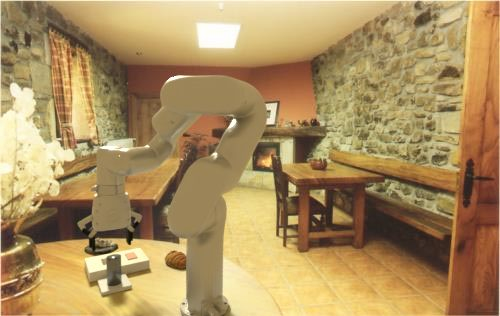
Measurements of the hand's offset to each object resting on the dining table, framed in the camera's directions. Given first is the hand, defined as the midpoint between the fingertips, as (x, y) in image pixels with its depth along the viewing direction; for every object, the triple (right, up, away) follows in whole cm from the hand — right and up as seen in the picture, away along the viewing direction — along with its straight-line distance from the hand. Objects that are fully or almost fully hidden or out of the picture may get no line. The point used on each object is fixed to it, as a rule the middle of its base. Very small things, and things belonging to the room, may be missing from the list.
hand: (111, 246), depth 93 cm
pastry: (+16, -11, +17) cm, 26 cm away
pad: (0, -12, +1) cm, 12 cm away
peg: (0, -11, +1) cm, 11 cm away
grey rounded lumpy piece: (-16, -9, +28) cm, 33 cm away
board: (-4, -11, +13) cm, 17 cm away
